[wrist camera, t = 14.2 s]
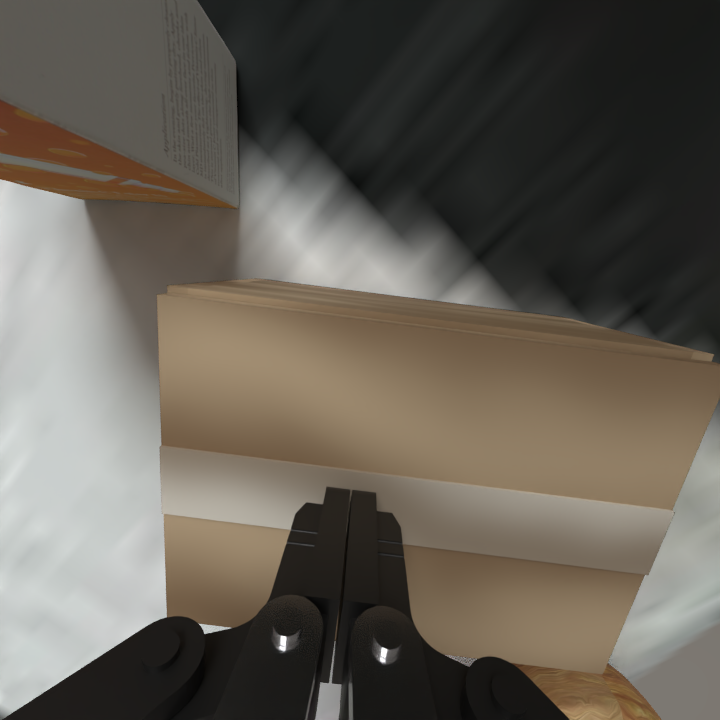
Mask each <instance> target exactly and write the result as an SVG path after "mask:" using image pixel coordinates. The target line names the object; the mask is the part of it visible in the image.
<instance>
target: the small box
mask: <svg viewBox="0 0 720 720" xmlns="http://www.w3.org/2000/svg"><path fill="white" fill-rule="evenodd" d="M0 179H2V180H6V181H10V182H14V183H17V184H21V185H24V186H28V187H33V188H37V189H41V190H45V191H49V192H53V193H57V194H61V195H66V196H70V197H74V198H78V199H99V200H124V201H140V202H158V203H172V204H184V205H197V206H210V207H223V208H233V209H237V208H238V207H239V177H238V128H237V89H236V62H235V59H234V58H233V56H232V55H231V53H230V51H229V50H228V48H227V47H226V45H225V44H224V42H223V40H222V39H221V37H220V36H219V34H218V32H217V31H216V29H215V28H214V26H213V25H212V23H211V22H210V20H209V18H208V17H207V15H206V14H205V12H204V11H203V9H202V8H201V6H200V4H199V3H198V1H197V0H0Z"/></svg>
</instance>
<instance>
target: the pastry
mask: <svg viewBox="0 0 720 720" xmlns="http://www.w3.org/2000/svg"><path fill="white" fill-rule="evenodd" d="M512 664H513V665H515V666H516V667H517V668H519V669H520V670H521V671H522V672H524V673H525V674H526V675H527V676H528V677H529V678H530V679H531V680H532V681H533V682H534V683H535V684H536V685H537V686H538V687H539V689H540V690H541V691H542V692H543V693H544V694H545V695H546V696H547V697H548V698H549V699H550V700H551V701H552V702H553V703H554V704H555V705H556V706H557V707H558V708H559V709H560V710H561V711H562V712H563V713H564V714H565V715H566V716H567V717H568V718H569V719H570V720H661V718H660V717H659V716H658V714H657V713H656V712H655V710H654V709H653V708H652V707H651V705H650V704H649V703H648V702H647V700H646V699H645V698H644V697H643V696H642V695H641V694H640V693H639V691H637V689H636V688H635V687H634V686H633V685H632V684H631V683H630V682H629V681H628V680H627V679H626V678H625V677H624V676H623V675H622V674H621V673H620V672H618V671H617V670H616V669H614V668H613V667H612V666H611V665H609V664H608V663H607V665H606V668H605V670H604V673H603V674H595V673H587V672H579V671H571V670H563V669H555V668H548V667H540V666H532V665H524V664H516V663H512Z"/></svg>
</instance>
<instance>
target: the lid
mask: <svg viewBox="0 0 720 720" xmlns="http://www.w3.org/2000/svg"><path fill="white" fill-rule="evenodd" d="M157 317H158V348H159V380H160V411H161V443H162V446H160V473H161V503H162V514H164V537H165V568H166V600H167V617H173V616H183V617H188V618H190V619H193V620H194V621H196V622H197V623H199V624H207V625H215V626H223V627H231V628H234V627H238V626H240V625H242V624H244V623H246V622H248V621H249V620H251V619H252V618H253V617H255V616H256V615H257V613H258V612H259V611H260V609H261V608H262V607H263V606H264V605H265V604H266V603H267V601H268V599H269V597H270V594H271V591H272V588H273V585H274V582H275V578H276V575H277V572H278V569H279V565H280V562H281V559H282V556H283V552H284V549H285V546H286V544H287V539H288V536H289V533H290V531H291V526H292V523H293V520H294V517H295V514H296V513H297V512H298V510H299V509H300V508H301V507H302V506H303V505H304V504H305V503H306V502H308V503H316V504H323V502H324V497H325V492H326V487H335V488H343V489H350V498H349V509H350V502H351V495H352V490H360V491H368V492H376V501H377V511H381V512H389V513H393V515H394V517H395V518H396V520H397V521H398V523H399V525H400V526H401V532H402V541H403V544H402V545H403V549H404V559H405V567H406V575H407V584H408V592H409V601H410V609H411V615H412V619H413V622H414V624H415V626H416V628H417V630H418V632H419V633H420V635H421V636H422V637H423V639H424V640H425V641H426V642H427V643H428V644H429V645H430V646H431V647H433V648H434V649H435V650H437V651H438V652H440V653H441V654H445V655H453V656H461V657H468V658H476V659H479V658H482V657H487V656H491V657H497V658H501V659H504V660H506V661H508V662H510V663H516V664H524V665H532V666H540V667H548V668H555V669H563V670H571V671H579V672H587V673H595V674H603V673H604V670H605V668H606V665H607V663H608V661H609V658H610V656H611V654H612V651H613V649H614V647H615V644H616V642H617V639H618V637H619V635H620V632H621V630H622V628H623V625H624V623H625V620H626V618H627V616H628V613H629V611H630V609H631V606H632V604H633V602H634V599H635V597H636V594H637V592H638V590H639V587H640V585H641V583H642V580H643V578H644V576H645V575H648V574H649V572H650V570H651V567H652V565H653V563H654V560H655V558H656V556H657V553H658V551H659V549H660V546H661V544H662V542H663V539H664V537H665V535H666V532H667V530H668V527H669V525H670V523H671V520H672V518H673V516H674V513H675V512H674V511H673V510H672V509H673V507H674V505H675V502H676V500H677V497H678V495H679V493H680V490H681V488H682V486H683V483H684V481H685V479H686V476H687V474H688V471H689V469H690V467H691V464H692V462H693V460H694V457H695V455H696V452H697V450H698V448H699V445H700V443H701V441H702V438H703V436H704V434H705V431H706V429H707V426H708V424H709V422H710V419H711V417H712V415H713V412H714V410H715V408H716V405H717V403H718V400H719V398H720V364H718V363H715V362H710V361H703V360H695V359H687V358H679V357H671V356H663V355H655V354H647V353H639V352H631V351H624V350H616V349H608V348H600V347H592V346H584V345H576V344H568V343H560V342H553V341H545V340H537V339H529V338H521V337H513V336H505V335H497V334H489V333H481V332H474V331H466V330H458V329H450V328H442V327H434V326H426V325H418V324H410V323H402V322H395V321H387V320H379V319H371V318H363V317H355V316H347V315H339V314H331V313H324V312H316V311H308V310H300V309H292V308H284V307H276V306H268V305H260V304H252V303H245V302H237V301H229V300H221V299H213V298H205V297H197V296H189V295H181V294H174V293H165V294H157ZM349 509H348V517H349ZM347 524H348V520H347ZM346 532H347V531H346ZM337 623H338V619H337ZM336 633H337V626H336ZM335 641H336V634H335Z"/></svg>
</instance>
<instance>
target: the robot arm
mask: <svg viewBox="0 0 720 720" xmlns="http://www.w3.org/2000/svg"><path fill="white" fill-rule="evenodd" d="M349 498H350V489H343V488H335V487H326V492H325V497H324V502H323V504H316V503H308V502H306V503H305V504H304V505H303V506H302V507H301V508H300V509H299V510H298V512H297V513H296V514H295V517H294V520H293V523H292V526H291V531H290V533H289V536H288V539H287V544H286V546H285V549H284V552H283V556H282V559H281V562H280V565H279V569H278V572H277V575H276V578H275V582H274V585H273V588H272V591H271V594H270V597H269V599H268V601H267V603H266V604H265V605H264V606H263V607H262V608H261V609H260V611H259V612H258V613H257V615H256V616H255V617H253V618H252V619H251V620H249V621H248V622H246V623H244V624H242V625H240V626H238V627H234V628H231V629H227V630H222V631H218V632H213V633H208V634H204V632H203V630H202V628H201V626H200V625H199V624H198V623H197V622H196V621H194V620H193V619H190V618H188V617H183V616H173V617H167V618H164V619H160V620H158V621H156V622H153V623H152V624H150V625H148V626H146V627H145V628H143V629H142V630H140V631H139V632H137V633H135V634H134V635H132V636H131V637H129V638H128V639H126V640H125V641H123V642H122V643H120V644H118V645H117V646H115V647H114V648H112V649H111V650H109V651H108V652H106V653H105V654H103V655H101V656H100V657H98V658H97V659H95V660H94V661H92V662H91V663H89V664H88V665H86V666H84V667H83V668H81V669H80V670H78V671H77V672H75V673H74V674H72V675H71V676H69V677H67V678H66V679H64V680H63V681H61V682H60V683H58V684H57V685H55V686H54V687H52V688H50V689H49V690H47V691H46V692H44V693H43V694H41V695H40V696H38V697H36V698H35V699H33V700H32V701H30V702H29V703H27V704H26V705H24V706H23V707H21V708H19V709H18V710H16V711H15V712H13V713H12V714H10V715H9V716H7V717H6V718H4V719H2V720H315V716H316V711H317V704H318V696H319V688H320V682H323V683H329V677H330V670H331V663H332V655H333V648H334V641H335V634H336V644H335V654H334V665H333V676H332V683H334V684H342V686H341V700H340V713H339V719H338V720H570V719H569V718H568V717H567V716H566V715H565V714H564V713H563V712H562V711H561V710H560V709H559V708H558V707H557V706H556V705H555V704H554V703H553V702H552V701H551V700H550V699H549V698H548V697H547V696H546V695H545V694H544V693H543V692H542V691H541V690H540V689H539V687H538V686H537V685H536V684H535V683H534V682H533V681H532V680H531V679H530V678H529V677H528V676H527V675H526V674H525V673H524V672H522V671H521V670H520V669H519V668H517V667H516V666H515V665H513V664H512V663H510V662H508V661H506V660H504V659H501V658H497V657H491V656H487V657H482V658H479V659H477V660H476V661H474V662H473V663H472V665H471V666H470V667H468V666H465V665H463V664H461V663H459V662H457V661H455V660H453V659H451V658H449V657H447V656H445V655H443V654H441V653H440V652H438V651H437V650H435V649H434V648H433V647H431V646H430V645H429V644H428V643H427V642H426V641H425V640H424V639H423V637H422V636H421V635H420V633H419V632H418V630H417V628H416V626H415V624H414V622H413V619H412V615H411V609H410V601H409V592H408V584H407V575H406V567H405V559H404V549H403V545H402V544H403V541H402V532H401V526H400V525H399V523H398V521H397V520H396V518H395V517H394V515H393V513H389V512H381V511H377V501H376V492H368V491H360V490H352V495H351V502H350V509H349ZM348 509H349V517H348ZM347 520H348V524H347ZM346 531H347V532H346ZM337 619H338V623H337ZM336 626H337V633H336Z"/></svg>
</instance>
